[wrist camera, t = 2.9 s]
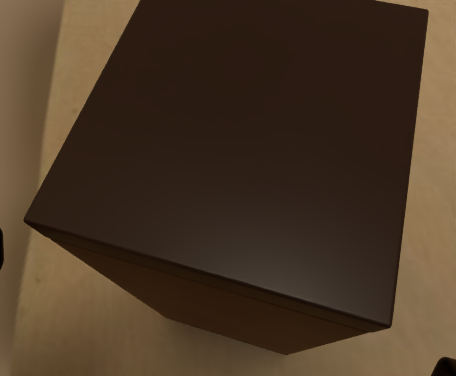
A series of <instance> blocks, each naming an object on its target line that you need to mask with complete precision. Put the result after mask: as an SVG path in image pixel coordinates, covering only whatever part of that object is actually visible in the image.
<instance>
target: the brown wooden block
mask: <svg viewBox="0 0 456 376" xmlns="http://www.w3.org/2000/svg"><path fill="white" fill-rule="evenodd" d="M428 14H429V11H428V10H427V9H421V8H415V7H410V6H404V5H399V4H393V3H387V2H382V1H376V0H140V2H139V4H138V5H137V7H136V9H135V11H134V13H133V15H132V17H131V19H130V20H129V22H128V24H127V26H126V28H125V30H124V32H123V34H122V35H121V37H120V39H119V41H118V43H117V45H116V47H115V49H114V50H113V52H112V54H111V56H110V58H109V60H108V62H107V64H106V65H105V67H104V69H103V71H102V73H101V75H100V77H99V78H98V80H97V82H96V84H95V86H94V88H93V90H92V92H91V93H90V95H89V97H88V99H87V101H86V103H85V105H84V107H83V108H82V110H81V112H80V114H79V116H78V118H77V120H76V122H75V123H74V125H73V127H72V129H71V131H70V133H69V135H68V137H67V138H66V140H65V142H64V144H63V146H62V148H61V150H60V152H59V153H58V155H57V157H56V159H55V161H54V163H53V165H52V166H51V168H50V170H49V172H48V174H47V176H46V178H45V180H44V181H43V183H42V185H41V187H40V189H39V191H38V193H37V195H36V196H35V198H34V200H33V202H32V204H31V206H30V208H29V210H28V211H27V213H26V215H25V217H24V222H25V223H26V224H28V225H29V226H31V227H32V228H33V229H35V230H36V231H38V232H39V233H41V234H42V235H44V236H45V237H48V238H50V239H51V240H52V241H54V242H55V243H57V244H58V245H60V246H61V247H63V248H64V249H66V250H67V251H68V252H70V253H71V254H73V255H74V256H76V257H77V258H79V259H80V260H82V261H83V262H85V263H86V264H88V265H89V266H91V267H92V268H93V269H95V270H96V271H98V272H99V273H101V274H102V275H104V276H105V277H107V278H108V279H110V280H111V281H113V282H114V283H116V284H117V285H119V286H120V287H121V288H123V289H124V290H126V291H127V292H129V293H130V294H132V295H133V296H135V297H136V298H138V299H139V300H141V301H142V302H144V303H145V304H147V305H148V306H149V307H151V308H152V309H154V310H155V311H157V312H158V313H160V314H161V315H163V316H164V317H166V318H168V319H171V320H175V321H178V322H181V323H184V324H187V325H191V326H194V327H197V328H200V329H204V330H207V331H210V332H213V333H216V334H220V335H223V336H226V337H229V338H232V339H236V340H239V341H242V342H245V343H248V344H252V345H255V346H258V347H261V348H265V349H268V350H271V351H274V352H277V353H281V354H284V355H289V354H292V353H296V352H300V351H303V350H307V349H311V348H314V347H318V346H322V345H325V344H329V343H333V342H336V341H340V340H344V339H347V338H351V337H355V336H358V335H362V334H366V333H369V332H377V331H380V330H384V329H388V328H390V327H391V326H392V320H393V311H394V303H395V294H396V286H397V277H398V269H399V260H400V252H401V243H402V235H403V226H404V218H405V209H406V201H407V192H408V184H409V175H410V167H411V158H412V150H413V141H414V133H415V124H416V116H417V107H418V99H419V90H420V82H421V73H422V65H423V56H424V48H425V39H426V31H427V22H428Z"/></svg>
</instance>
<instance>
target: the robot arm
mask: <svg viewBox="0 0 456 376" xmlns="http://www.w3.org/2000/svg"><path fill="white" fill-rule="evenodd" d="M3 262H4V248H3V232H2V230H1V228H0V270H1V268H2V265H3ZM431 376H456V360H455V359H452V358H448V357H443V358H441V359H440V360H439V361H438V362H437V364H436V366H435V368H434V370H433V372H432V374H431Z"/></svg>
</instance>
